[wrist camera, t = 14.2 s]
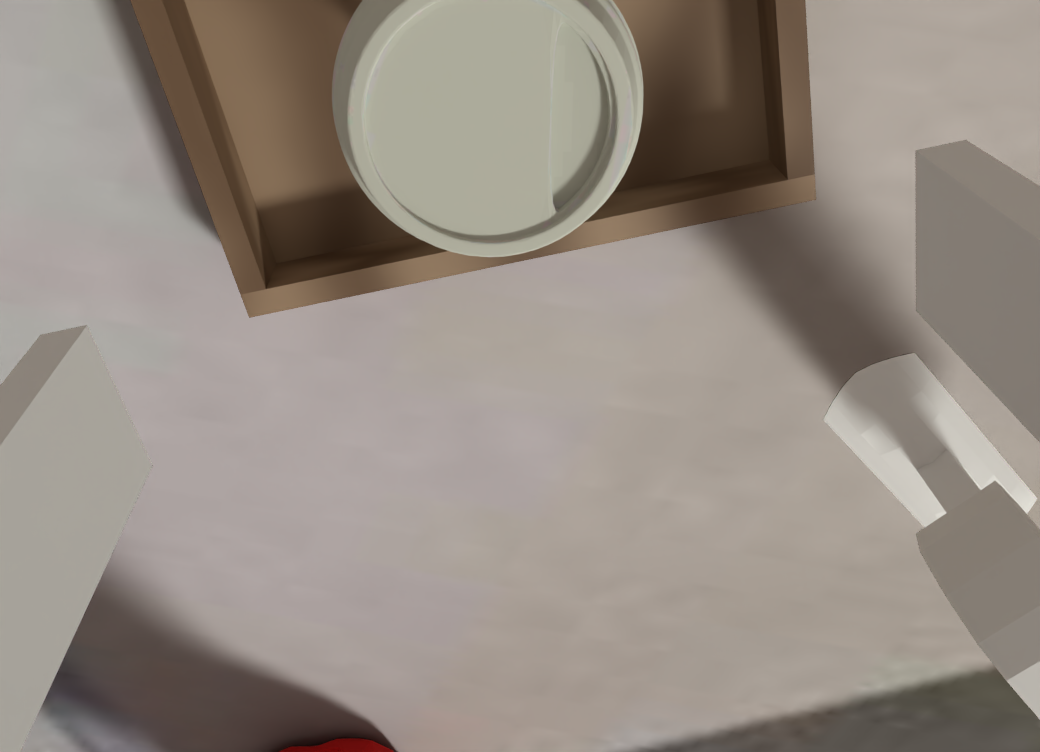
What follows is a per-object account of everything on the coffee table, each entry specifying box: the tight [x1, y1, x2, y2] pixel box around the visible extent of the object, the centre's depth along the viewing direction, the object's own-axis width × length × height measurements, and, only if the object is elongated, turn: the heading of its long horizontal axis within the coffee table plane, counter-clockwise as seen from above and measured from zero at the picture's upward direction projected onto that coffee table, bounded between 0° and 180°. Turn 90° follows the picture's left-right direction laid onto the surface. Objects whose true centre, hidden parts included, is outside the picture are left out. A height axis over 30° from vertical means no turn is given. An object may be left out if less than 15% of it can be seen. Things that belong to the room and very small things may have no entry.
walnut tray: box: [130, 0, 816, 318], centre depth 36 cm, size 22×16×4 cm
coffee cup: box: [332, 0, 643, 257], centre depth 31 cm, size 8×8×12 cm
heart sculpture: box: [823, 353, 1040, 719], centre depth 40 cm, size 16×5×18 cm, turn 43°
